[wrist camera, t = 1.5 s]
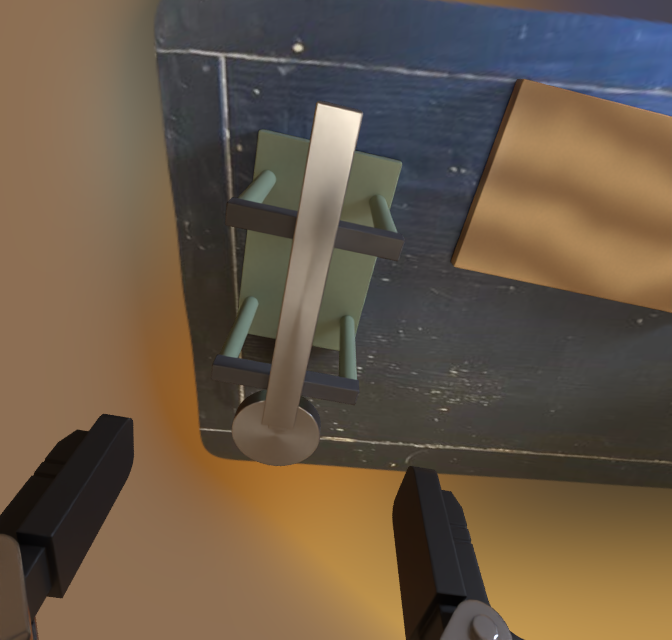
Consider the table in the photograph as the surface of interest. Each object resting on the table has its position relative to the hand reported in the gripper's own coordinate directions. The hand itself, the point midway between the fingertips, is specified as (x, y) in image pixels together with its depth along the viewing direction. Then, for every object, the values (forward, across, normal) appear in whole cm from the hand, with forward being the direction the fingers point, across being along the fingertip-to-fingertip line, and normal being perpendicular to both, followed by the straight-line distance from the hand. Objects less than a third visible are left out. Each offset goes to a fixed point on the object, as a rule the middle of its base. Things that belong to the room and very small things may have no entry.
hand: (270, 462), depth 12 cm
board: (+24, -22, -6) cm, 33 cm away
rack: (+24, 0, +2) cm, 24 cm away
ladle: (+14, 0, +3) cm, 14 cm away
